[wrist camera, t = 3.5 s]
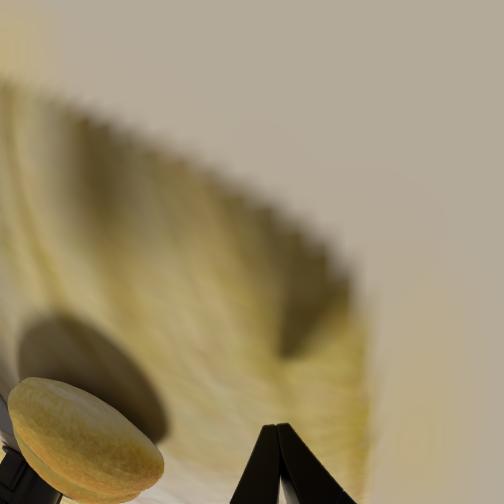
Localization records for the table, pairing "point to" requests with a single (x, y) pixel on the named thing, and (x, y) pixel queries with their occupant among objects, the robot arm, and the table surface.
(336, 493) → the robot arm
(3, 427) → the serving mat
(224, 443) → the table surface
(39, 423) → the bread roll
